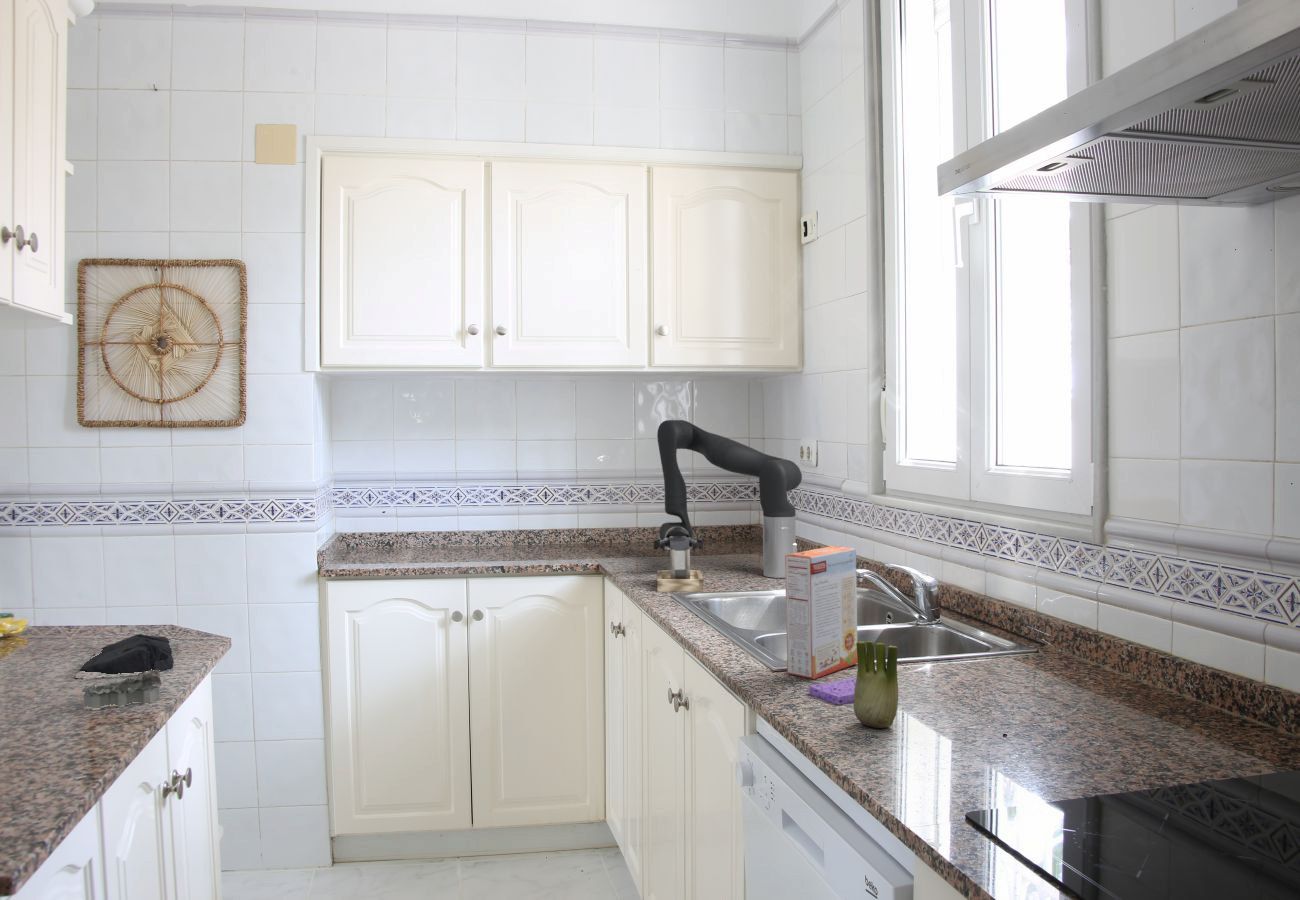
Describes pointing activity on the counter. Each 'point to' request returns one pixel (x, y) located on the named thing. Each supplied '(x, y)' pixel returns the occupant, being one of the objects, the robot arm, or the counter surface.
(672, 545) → the block
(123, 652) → the dark slate chunk
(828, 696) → the sponges
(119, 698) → the egg carton
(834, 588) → the cracker box
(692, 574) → the wooden rack with posts
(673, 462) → the robot arm
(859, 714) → the fennel bulb
